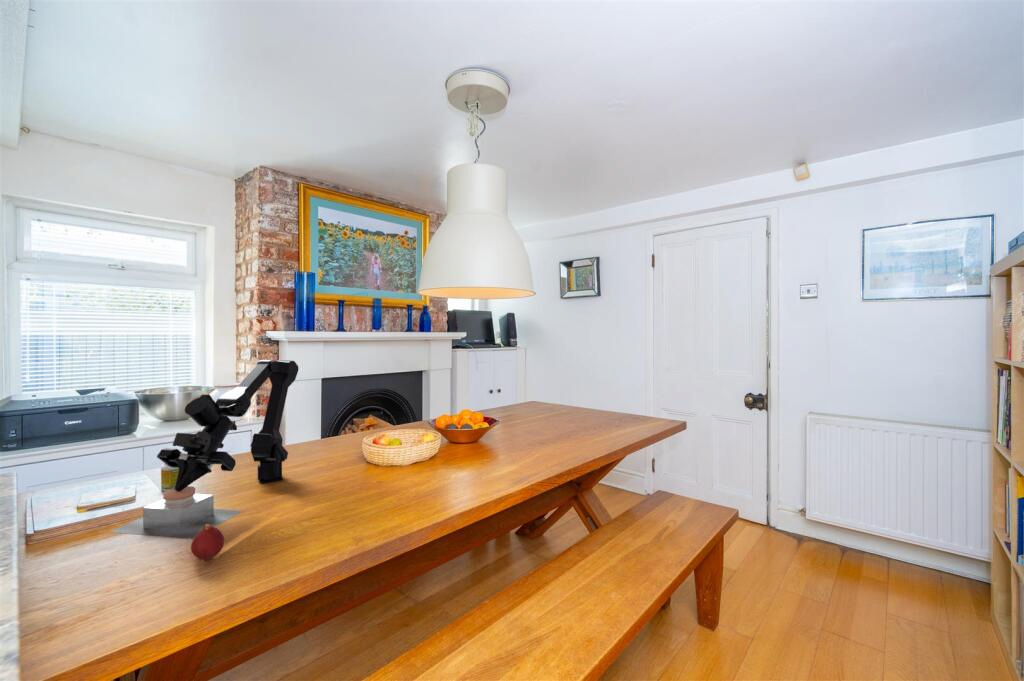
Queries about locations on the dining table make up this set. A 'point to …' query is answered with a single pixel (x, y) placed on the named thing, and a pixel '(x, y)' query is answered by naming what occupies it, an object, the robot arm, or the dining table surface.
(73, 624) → the dining table surface
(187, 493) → the terracotta plug
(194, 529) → the slate board
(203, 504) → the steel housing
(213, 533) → the onion
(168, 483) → the supplement bottle
